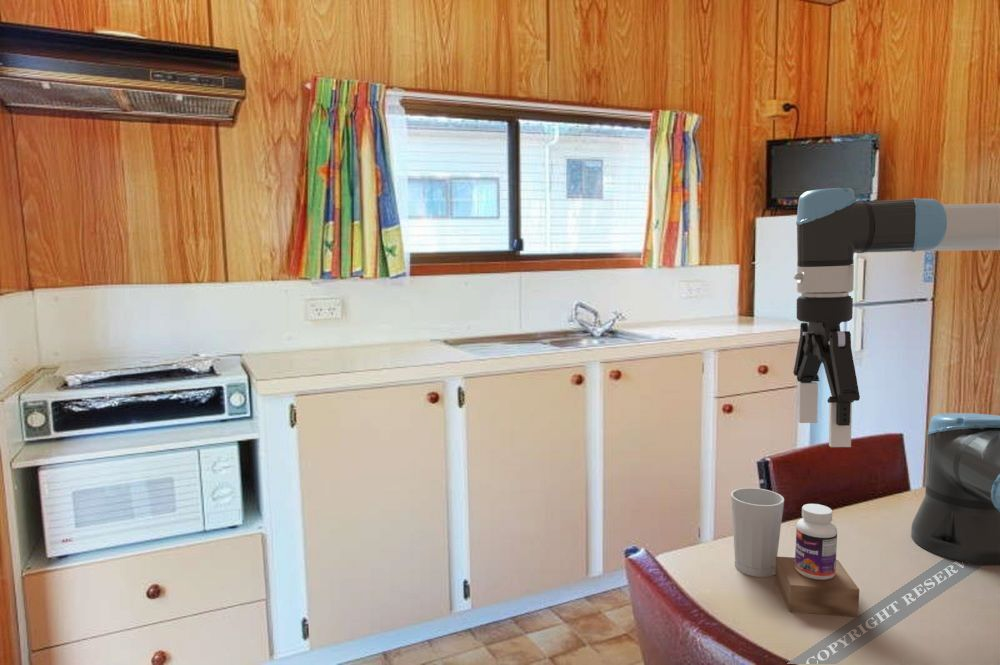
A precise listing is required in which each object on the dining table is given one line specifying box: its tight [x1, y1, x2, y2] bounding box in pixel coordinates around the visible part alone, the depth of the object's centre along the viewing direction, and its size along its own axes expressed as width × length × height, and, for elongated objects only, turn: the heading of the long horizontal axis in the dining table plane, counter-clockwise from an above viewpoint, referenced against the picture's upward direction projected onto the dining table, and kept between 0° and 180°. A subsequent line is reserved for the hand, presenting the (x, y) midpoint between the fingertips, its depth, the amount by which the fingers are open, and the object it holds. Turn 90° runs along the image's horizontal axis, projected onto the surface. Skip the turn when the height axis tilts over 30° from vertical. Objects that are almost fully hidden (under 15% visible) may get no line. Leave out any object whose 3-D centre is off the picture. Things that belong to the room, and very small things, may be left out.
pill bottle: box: [794, 503, 838, 580], centre depth 96 cm, size 5×5×10 cm
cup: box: [730, 487, 785, 578], centre depth 106 cm, size 8×8×12 cm
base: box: [774, 555, 860, 618], centre depth 97 cm, size 9×9×4 cm
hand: (822, 433), depth 100 cm, fingers open, 13 cm apart
